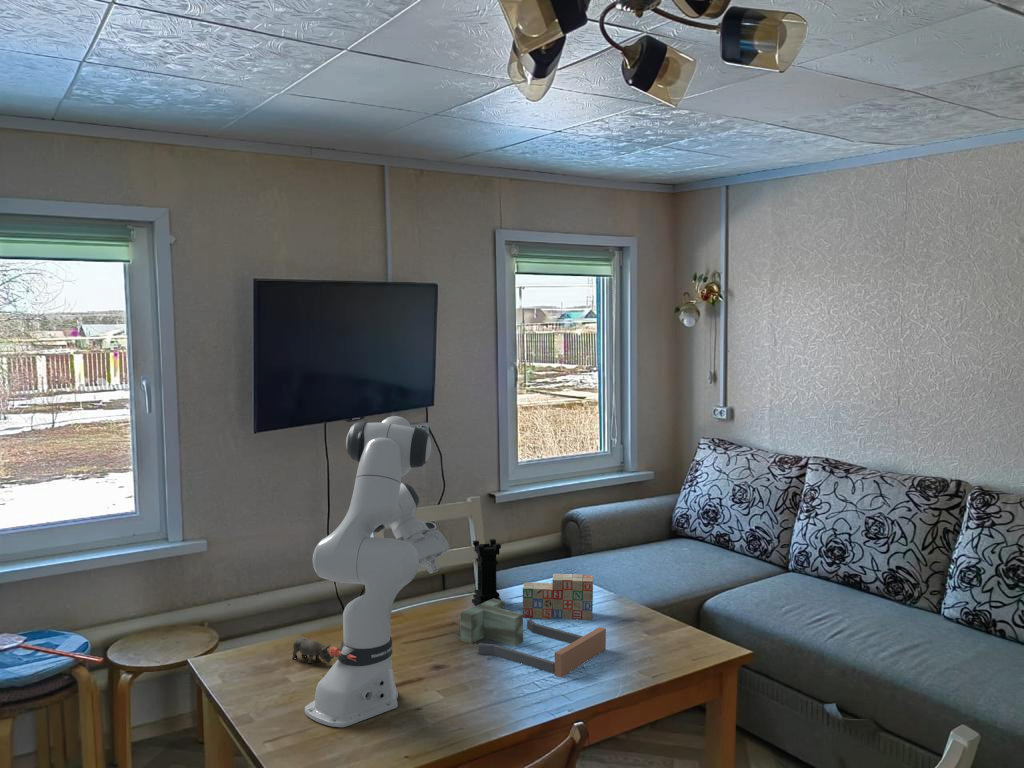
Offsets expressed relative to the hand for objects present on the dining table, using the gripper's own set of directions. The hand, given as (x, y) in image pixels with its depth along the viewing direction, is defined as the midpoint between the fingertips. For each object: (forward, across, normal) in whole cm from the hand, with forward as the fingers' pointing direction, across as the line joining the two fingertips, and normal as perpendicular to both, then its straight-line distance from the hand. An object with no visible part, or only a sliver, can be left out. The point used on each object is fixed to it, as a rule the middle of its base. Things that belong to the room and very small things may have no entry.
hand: (434, 571), depth 248 cm
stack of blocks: (+30, +25, -9) cm, 40 cm away
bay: (+39, 0, -18) cm, 43 cm away
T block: (+28, 0, -6) cm, 28 cm away
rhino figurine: (+7, -42, +14) cm, 45 cm away
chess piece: (+14, +20, +8) cm, 25 cm away
